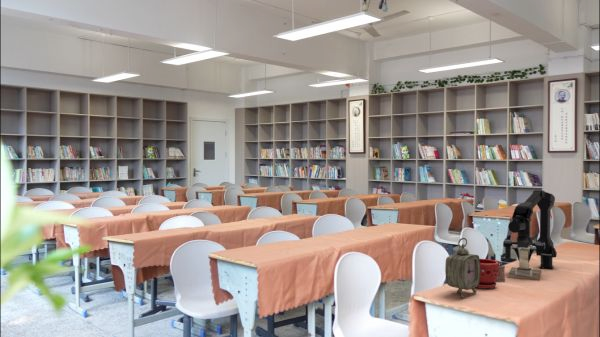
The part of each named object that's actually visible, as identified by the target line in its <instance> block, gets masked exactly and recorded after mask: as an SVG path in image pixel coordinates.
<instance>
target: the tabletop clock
mask: <svg viewBox="0 0 600 337" xmlns="http://www.w3.org/2000/svg"><path fill="white" fill-rule="evenodd" d="M463 240H465V244H464V243H462V244H461V245H460V243H461V241H463ZM457 245H458V247H459V248H458V249H457V251H456V253H454V254H451V255H449V256H447V257H446V258H445V266H444V267H445V269H444V271H445V283H446V285H447V286H448V287H452V288H456V289H457V290H456V294H459V298H460V299H463V298H464V294H463V290H466V291H469V290H472V293H473V294H476V293H477V289H475V288H477V287H476V286H478V285H479V282H480V259H481V258H480V256H479V255H477V254H472V253H470V252H469V250H468V249H467V248H465V247H466V246H467V245H468V240H467V238H465V237H461V238H460V239H459V240H458V242H457Z"/></svg>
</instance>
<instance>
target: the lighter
mask: <svg viewBox="0 0 600 337" xmlns="http://www.w3.org/2000/svg"><path fill="white" fill-rule="evenodd" d="M494 261H497V262H498V263H499V267H498V275H497V278H496V280H495V282H496V283H502V282H503V283H504V282H506V279H505V276H506V275H505V274H506V272H505V268H506V266H505V265H503V261H502V260H498V259H496V260H494ZM488 271H489V270H488ZM493 272H494V271H493Z"/></svg>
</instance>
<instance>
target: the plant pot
mask: <svg viewBox="0 0 600 337" xmlns="http://www.w3.org/2000/svg"><path fill="white" fill-rule="evenodd" d="M479 259H480V282H479V285H478V286H476V287H475V288H479V289H493V288H495V287H496V286H497V282H495V280H496V278H497V275H498V267H499V265H500V264H499V263H498V262H497V261H495V260H494V259H489V258H488V259H487V258H479ZM488 270H489V271H488ZM493 271H494V272H493Z"/></svg>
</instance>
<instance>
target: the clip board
mask: <svg viewBox="0 0 600 337" xmlns="http://www.w3.org/2000/svg"><path fill="white" fill-rule="evenodd" d="M541 273H542V269H535V268H533V267H529V268H528V269H524V268H519V266H516V267H514V266H512V267H511V268H510V270H509V272H508V273H507V278H509V279H518V280H527V281H529V280H530V281H537V282H538V281H540V278H541Z"/></svg>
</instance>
